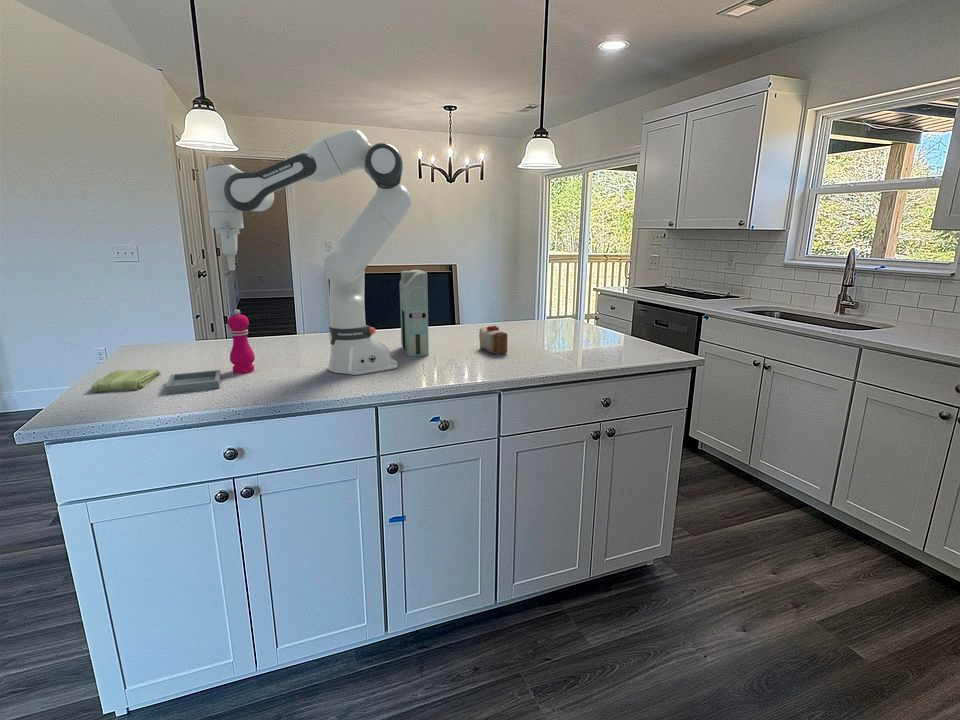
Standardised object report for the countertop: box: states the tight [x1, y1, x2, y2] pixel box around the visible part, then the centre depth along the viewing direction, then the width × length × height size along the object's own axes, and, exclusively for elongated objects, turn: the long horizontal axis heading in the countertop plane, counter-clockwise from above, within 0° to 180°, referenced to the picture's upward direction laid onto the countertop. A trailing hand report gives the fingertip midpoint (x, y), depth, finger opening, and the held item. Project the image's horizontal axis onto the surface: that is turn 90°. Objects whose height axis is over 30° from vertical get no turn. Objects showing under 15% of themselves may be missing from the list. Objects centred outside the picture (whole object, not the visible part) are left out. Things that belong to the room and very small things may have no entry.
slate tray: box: [165, 369, 222, 395], centre depth 144 cm, size 13×13×2 cm
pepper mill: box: [227, 309, 256, 374], centre depth 157 cm, size 7×7×20 cm
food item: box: [478, 325, 508, 356], centre depth 189 cm, size 14×8×10 cm, turn 25°
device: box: [399, 269, 430, 357], centre depth 184 cm, size 16×8×30 cm, turn 17°
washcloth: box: [91, 368, 162, 393], centre depth 146 cm, size 13×18×3 cm
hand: (232, 269), depth 151 cm, fingers open, 8 cm apart
